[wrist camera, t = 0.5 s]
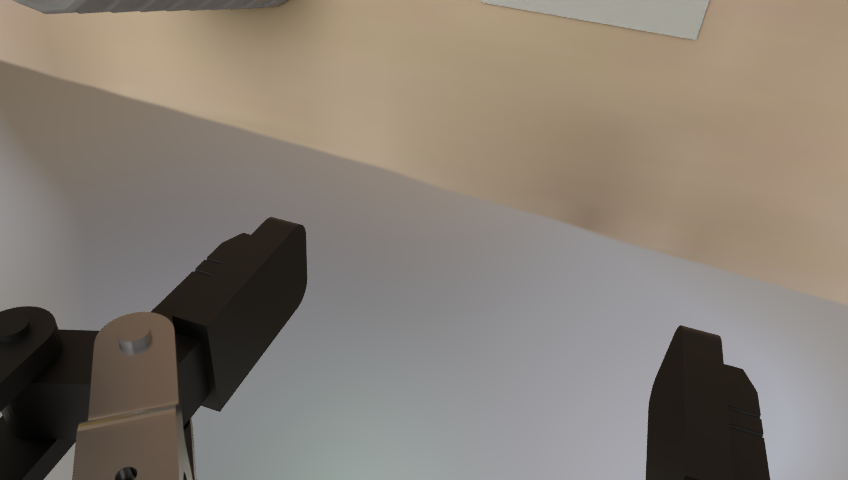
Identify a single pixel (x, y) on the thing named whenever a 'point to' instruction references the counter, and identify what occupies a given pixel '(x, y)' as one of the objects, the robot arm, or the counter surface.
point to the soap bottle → (141, 5)
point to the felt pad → (624, 13)
